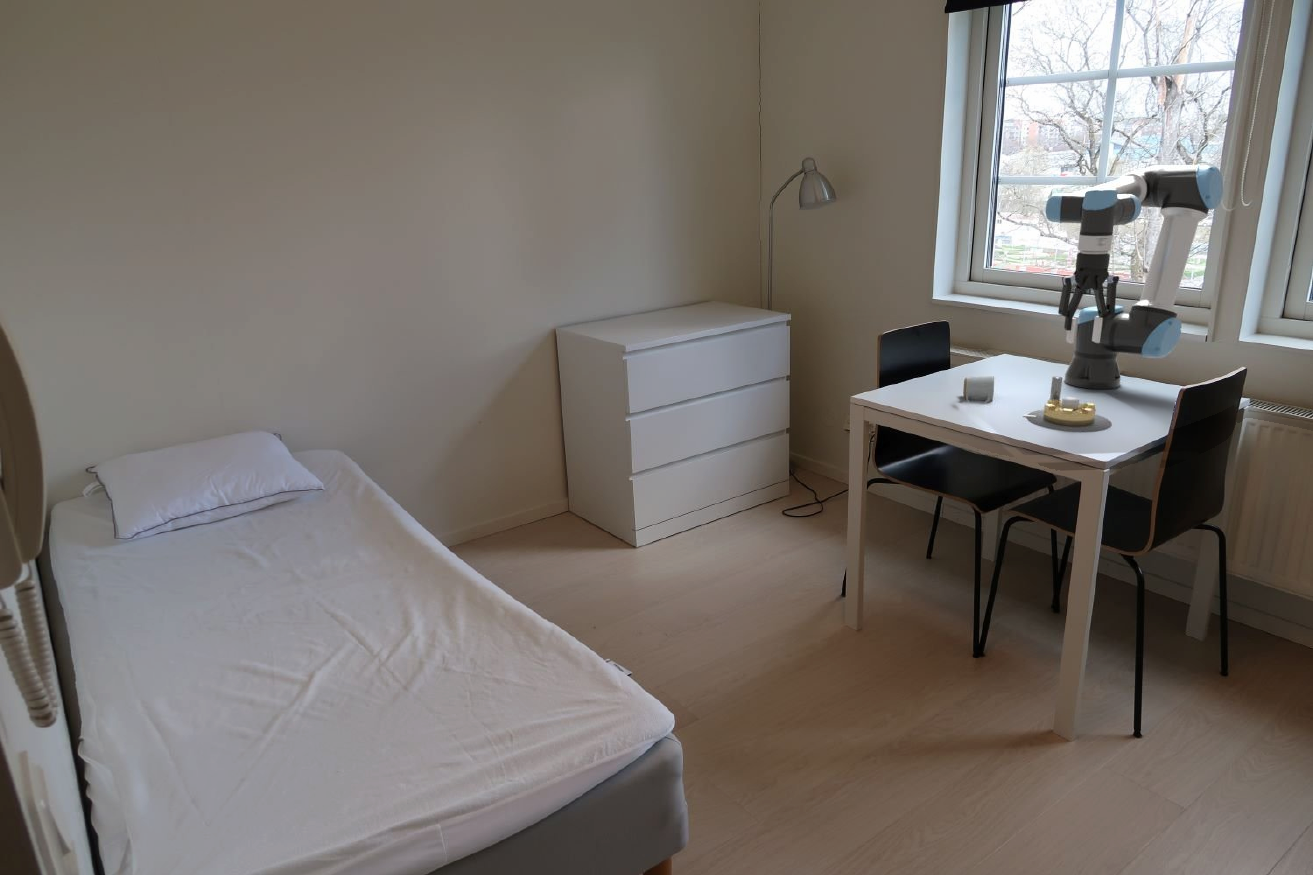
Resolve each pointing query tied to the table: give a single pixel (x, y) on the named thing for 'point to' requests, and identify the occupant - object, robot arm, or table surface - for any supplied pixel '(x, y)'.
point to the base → (1073, 404)
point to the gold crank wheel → (1064, 415)
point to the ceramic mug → (979, 388)
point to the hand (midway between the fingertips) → (1082, 342)
